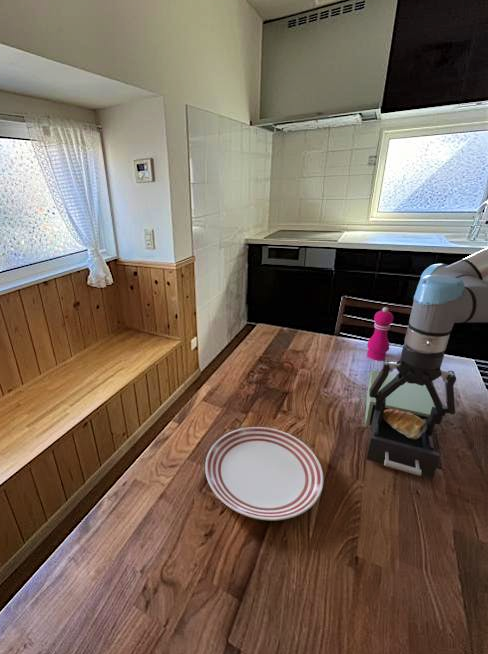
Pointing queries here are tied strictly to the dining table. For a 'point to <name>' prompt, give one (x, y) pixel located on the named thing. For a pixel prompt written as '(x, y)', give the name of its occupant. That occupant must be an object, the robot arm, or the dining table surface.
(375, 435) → the drawer
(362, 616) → the dining table surface
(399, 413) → the pastry
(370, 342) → the pepper mill
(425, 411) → the mint green cabinet
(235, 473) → the dinner plate
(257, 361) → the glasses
